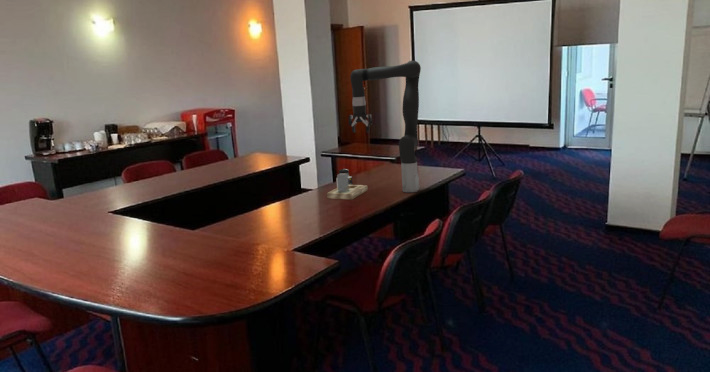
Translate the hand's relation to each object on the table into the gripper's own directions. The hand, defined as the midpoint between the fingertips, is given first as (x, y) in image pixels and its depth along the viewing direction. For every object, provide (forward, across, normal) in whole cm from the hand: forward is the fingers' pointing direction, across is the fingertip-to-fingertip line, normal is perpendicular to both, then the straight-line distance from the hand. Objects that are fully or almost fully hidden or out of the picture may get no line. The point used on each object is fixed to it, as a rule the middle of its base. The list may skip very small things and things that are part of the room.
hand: (361, 132), depth 330 cm
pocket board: (+36, +7, +9) cm, 38 cm away
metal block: (+32, +7, +14) cm, 36 cm away
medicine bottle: (+36, +17, -8) cm, 41 cm away
